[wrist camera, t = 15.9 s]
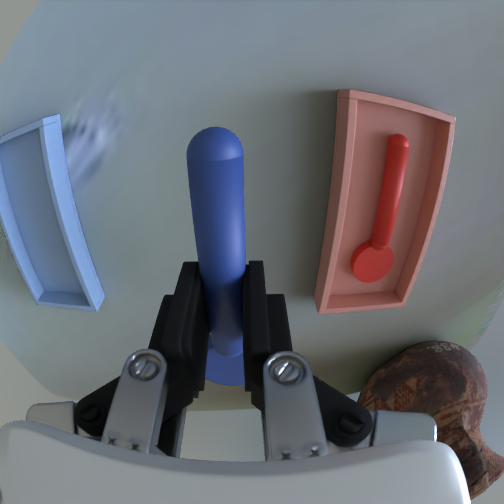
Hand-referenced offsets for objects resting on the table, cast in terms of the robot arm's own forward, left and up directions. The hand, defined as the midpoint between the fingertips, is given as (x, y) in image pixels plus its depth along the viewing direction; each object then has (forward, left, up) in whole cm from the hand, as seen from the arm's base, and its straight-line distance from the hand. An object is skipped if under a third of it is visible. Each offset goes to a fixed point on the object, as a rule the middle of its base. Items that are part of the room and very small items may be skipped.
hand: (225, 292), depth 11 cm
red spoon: (+1, +12, -10) cm, 15 cm away
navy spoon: (0, 0, 0) cm, 0 cm away
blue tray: (+1, -18, -11) cm, 21 cm away
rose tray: (+1, +12, -11) cm, 16 cm away
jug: (+27, +26, -11) cm, 39 cm away
